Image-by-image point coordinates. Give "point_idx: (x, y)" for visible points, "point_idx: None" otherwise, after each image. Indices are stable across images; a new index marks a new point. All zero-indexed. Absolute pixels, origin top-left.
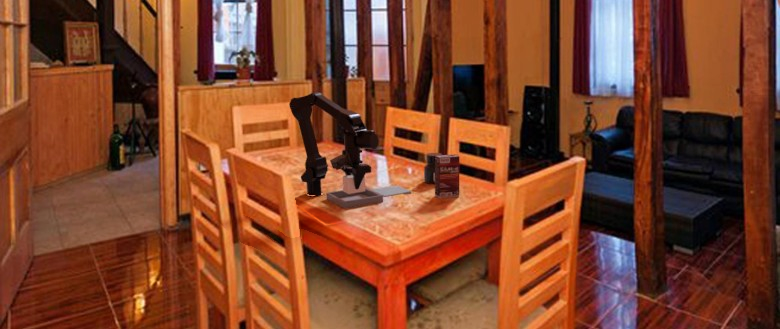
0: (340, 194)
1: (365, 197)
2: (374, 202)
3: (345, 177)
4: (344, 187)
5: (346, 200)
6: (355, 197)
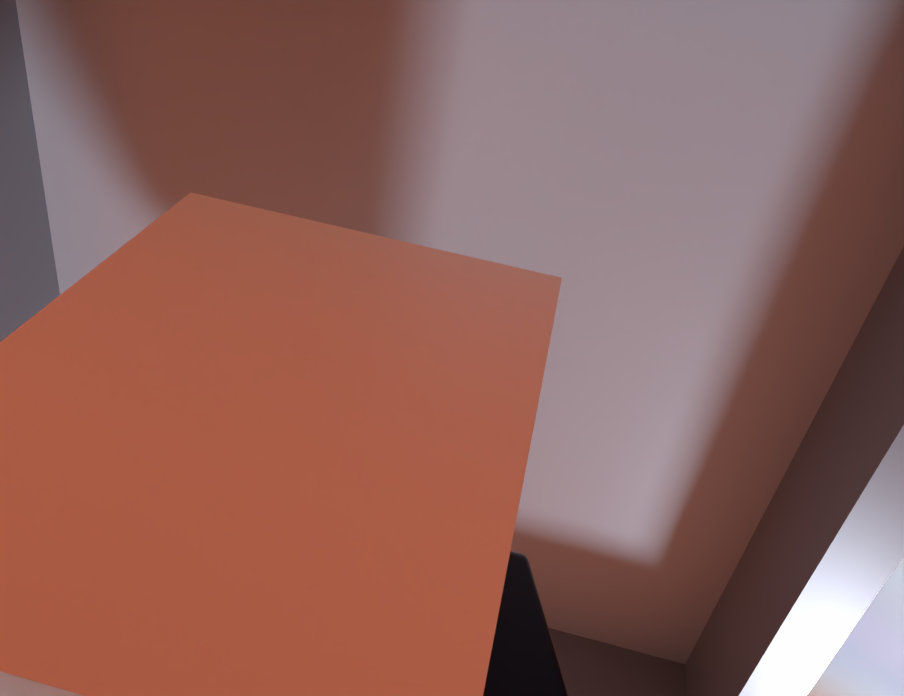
0: (899, 331)
1: None
2: None
3: (20, 666)
4: (423, 336)
5: (545, 220)
6: (587, 466)
